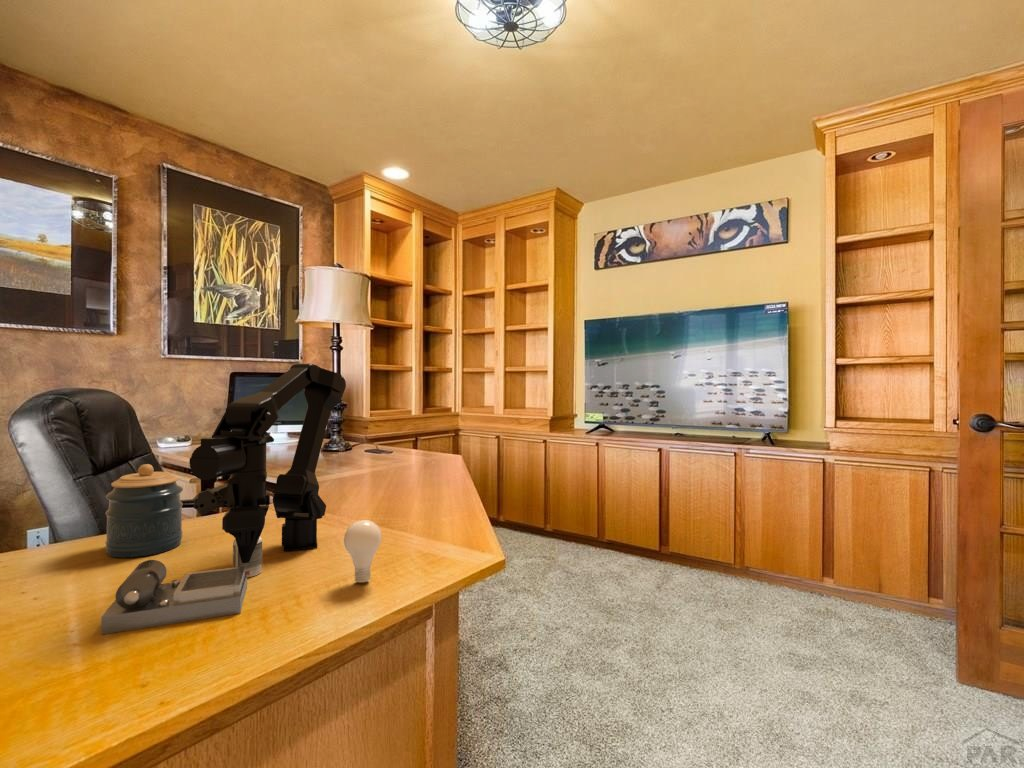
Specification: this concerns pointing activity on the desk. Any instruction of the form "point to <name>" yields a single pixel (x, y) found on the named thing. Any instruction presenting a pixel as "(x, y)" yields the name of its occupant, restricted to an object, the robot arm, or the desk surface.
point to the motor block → (173, 597)
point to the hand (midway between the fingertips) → (248, 554)
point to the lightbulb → (362, 547)
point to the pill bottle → (255, 562)
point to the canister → (144, 514)
